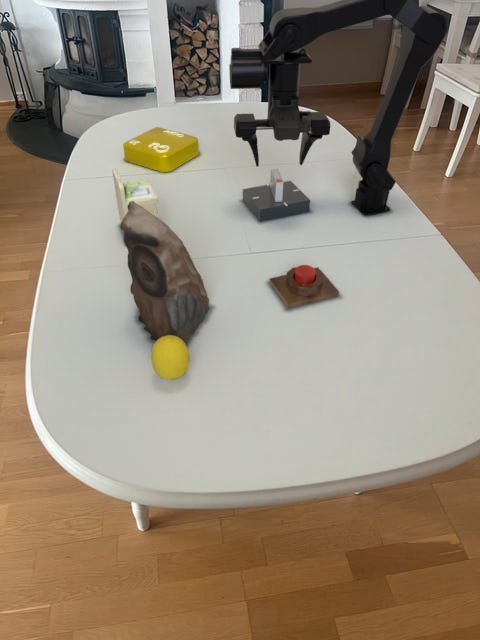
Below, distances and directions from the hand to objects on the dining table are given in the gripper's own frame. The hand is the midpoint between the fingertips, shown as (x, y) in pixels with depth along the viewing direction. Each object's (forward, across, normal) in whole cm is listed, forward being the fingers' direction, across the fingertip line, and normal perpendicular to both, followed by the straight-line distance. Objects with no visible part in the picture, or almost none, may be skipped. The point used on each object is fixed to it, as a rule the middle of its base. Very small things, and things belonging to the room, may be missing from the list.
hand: (279, 165), depth 109 cm
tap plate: (+11, 0, +2) cm, 11 cm away
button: (+8, +1, -29) cm, 30 cm away
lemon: (+11, -23, -48) cm, 55 cm away
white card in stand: (+8, 0, +2) cm, 8 cm away
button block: (+11, +1, -29) cm, 31 cm away
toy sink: (+11, -30, -7) cm, 32 cm away
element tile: (+11, -26, +31) cm, 42 cm away
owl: (+11, -22, -36) cm, 44 cm away
